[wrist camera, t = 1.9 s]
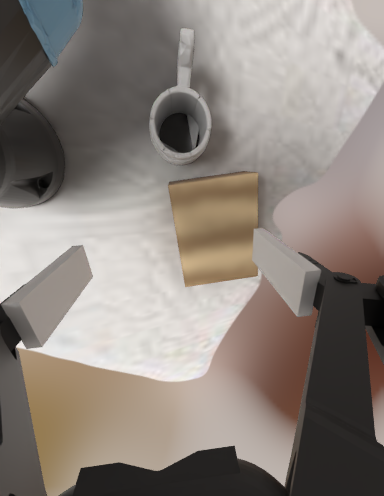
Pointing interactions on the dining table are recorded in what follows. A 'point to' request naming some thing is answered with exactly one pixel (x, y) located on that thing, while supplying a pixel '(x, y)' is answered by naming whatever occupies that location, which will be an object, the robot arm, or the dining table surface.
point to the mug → (182, 107)
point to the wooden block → (216, 226)
